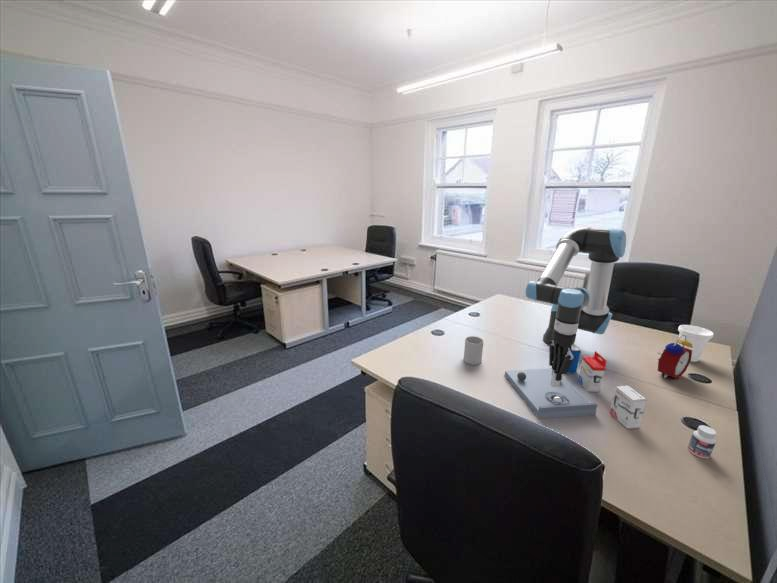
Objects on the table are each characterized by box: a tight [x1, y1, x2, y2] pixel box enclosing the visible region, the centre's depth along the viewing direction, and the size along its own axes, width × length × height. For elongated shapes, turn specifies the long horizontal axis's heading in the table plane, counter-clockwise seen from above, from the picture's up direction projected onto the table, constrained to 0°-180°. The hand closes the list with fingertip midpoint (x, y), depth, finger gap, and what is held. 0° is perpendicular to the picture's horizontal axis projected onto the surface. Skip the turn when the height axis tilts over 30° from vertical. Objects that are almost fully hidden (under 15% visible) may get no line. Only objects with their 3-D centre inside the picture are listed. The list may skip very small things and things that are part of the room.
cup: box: [677, 324, 715, 363], centre depth 156 cm, size 12×12×15 cm
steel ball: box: [552, 396, 562, 403], centre depth 123 cm, size 4×4×4 cm
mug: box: [463, 335, 484, 366], centre depth 156 cm, size 12×8×11 cm
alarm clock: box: [657, 335, 693, 379], centre depth 142 cm, size 15×9×20 cm, turn 117°
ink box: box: [609, 385, 647, 429], centre depth 114 cm, size 9×5×12 cm, turn 5°
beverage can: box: [567, 344, 582, 375], centre depth 145 cm, size 6×6×12 cm
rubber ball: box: [517, 372, 526, 381], centre depth 135 cm, size 4×4×4 cm
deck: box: [504, 367, 598, 419], centre depth 130 cm, size 28×22×4 cm
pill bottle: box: [687, 424, 717, 459], centre depth 101 cm, size 5×5×9 cm
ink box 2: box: [577, 351, 607, 393], centre depth 134 cm, size 8×5×15 cm, turn 178°
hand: (554, 385), depth 125 cm, fingers closed
